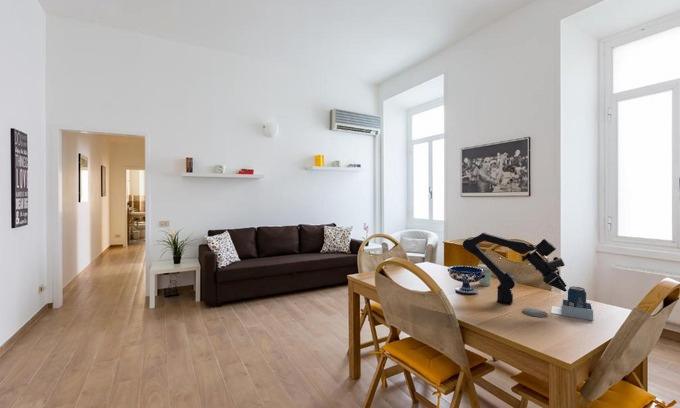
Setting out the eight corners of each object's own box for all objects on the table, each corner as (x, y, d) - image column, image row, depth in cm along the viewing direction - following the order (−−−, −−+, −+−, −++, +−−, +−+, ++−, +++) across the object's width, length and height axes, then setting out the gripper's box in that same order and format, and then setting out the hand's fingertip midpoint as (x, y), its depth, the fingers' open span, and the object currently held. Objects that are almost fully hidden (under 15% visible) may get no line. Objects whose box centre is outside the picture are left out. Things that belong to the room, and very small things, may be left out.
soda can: (574, 310, 156) (575, 285, 156) (589, 315, 149) (590, 289, 149) (563, 312, 154) (564, 286, 154) (578, 317, 147) (579, 290, 147)
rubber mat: (521, 314, 151) (521, 313, 151) (523, 308, 159) (523, 307, 159) (547, 318, 145) (547, 317, 145) (547, 312, 154) (547, 311, 154)
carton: (551, 313, 152) (551, 303, 152) (552, 304, 165) (552, 295, 165) (593, 320, 144) (593, 310, 144) (590, 310, 156) (590, 301, 156)
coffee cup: (495, 286, 199) (495, 266, 199) (484, 287, 196) (484, 267, 196) (484, 282, 207) (484, 263, 207) (473, 283, 204) (474, 264, 204)
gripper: (552, 254, 149) (582, 282, 143) (553, 249, 164) (580, 274, 158) (531, 270, 153) (560, 297, 147) (534, 263, 169) (560, 288, 163)
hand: (565, 288), depth 154 cm, fingers open, 9 cm apart
